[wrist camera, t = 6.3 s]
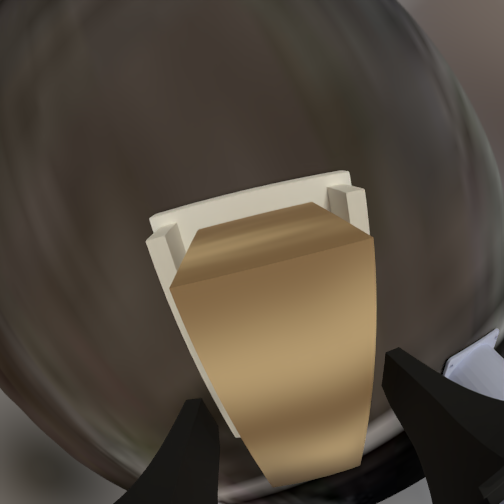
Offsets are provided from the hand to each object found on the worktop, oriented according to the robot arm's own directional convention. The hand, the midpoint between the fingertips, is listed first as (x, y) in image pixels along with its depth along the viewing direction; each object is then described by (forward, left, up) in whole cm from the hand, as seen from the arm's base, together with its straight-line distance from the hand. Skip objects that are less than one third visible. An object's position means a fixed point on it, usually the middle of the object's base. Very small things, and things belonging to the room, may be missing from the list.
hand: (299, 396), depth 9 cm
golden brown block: (0, 0, -3) cm, 3 cm away
